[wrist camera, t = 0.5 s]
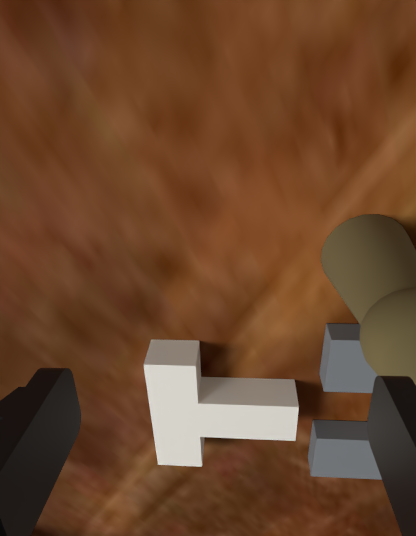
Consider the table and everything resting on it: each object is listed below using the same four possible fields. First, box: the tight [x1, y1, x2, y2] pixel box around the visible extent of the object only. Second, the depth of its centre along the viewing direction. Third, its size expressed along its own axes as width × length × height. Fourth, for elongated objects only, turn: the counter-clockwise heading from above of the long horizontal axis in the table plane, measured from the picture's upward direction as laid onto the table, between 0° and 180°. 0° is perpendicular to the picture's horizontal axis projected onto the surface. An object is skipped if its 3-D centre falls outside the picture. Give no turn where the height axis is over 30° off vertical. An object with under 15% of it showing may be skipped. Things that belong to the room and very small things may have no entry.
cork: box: [321, 214, 416, 385], centre depth 23 cm, size 6×6×11 cm
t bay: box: [308, 324, 382, 479], centre depth 33 cm, size 11×16×2 cm
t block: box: [144, 340, 299, 467], centre depth 34 cm, size 12×12×3 cm
